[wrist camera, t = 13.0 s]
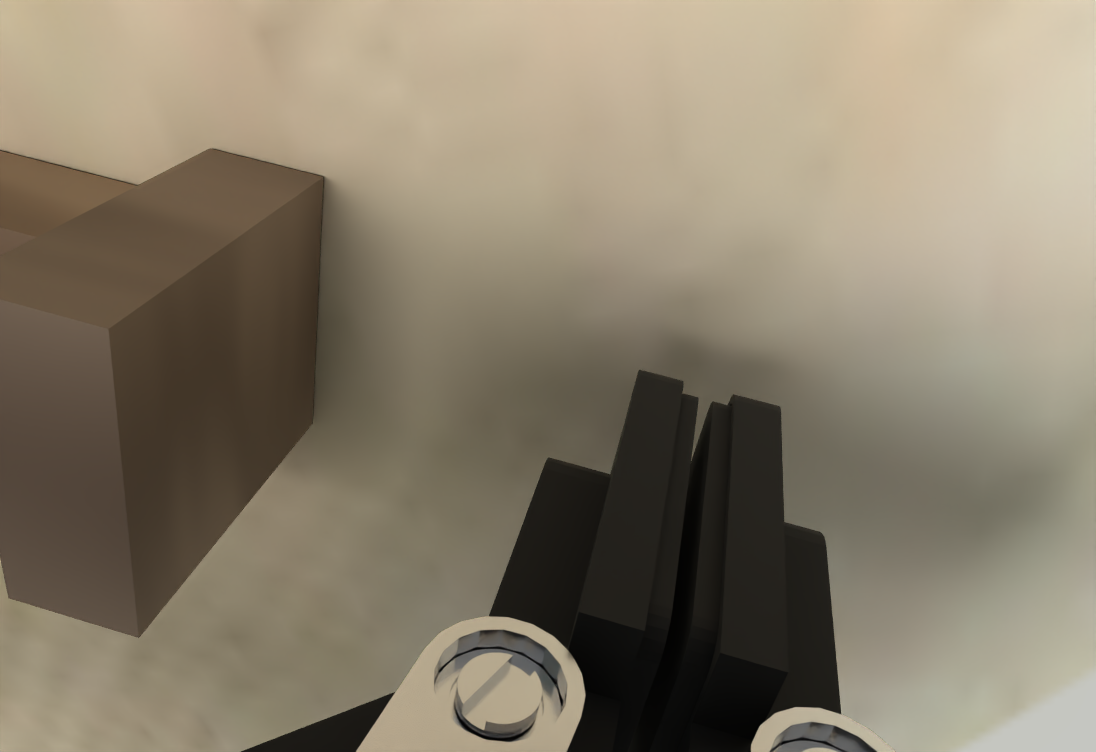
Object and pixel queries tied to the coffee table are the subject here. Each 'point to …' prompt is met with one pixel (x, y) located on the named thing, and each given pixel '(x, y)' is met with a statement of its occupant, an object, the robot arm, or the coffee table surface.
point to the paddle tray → (146, 370)
